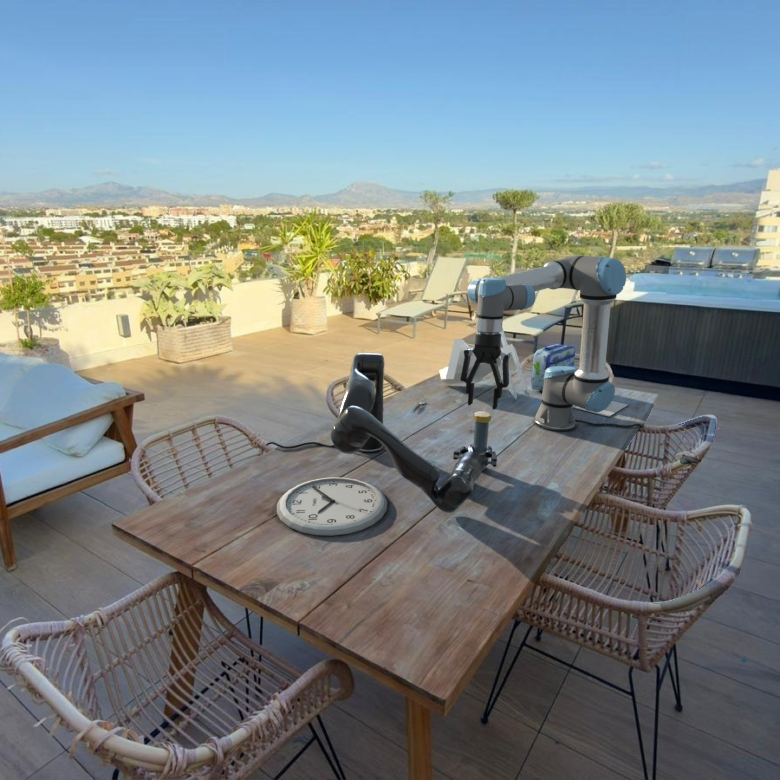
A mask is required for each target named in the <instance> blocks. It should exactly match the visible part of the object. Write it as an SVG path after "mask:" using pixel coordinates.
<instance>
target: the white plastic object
mask: <svg viewBox="0 0 780 780" xmlns="http://www.w3.org/2000/svg"><path fill="white" fill-rule="evenodd" d="M499 333H500V334H501V345H502V347H500V349H501V352H503V353H505V354H508V353H509V354H510V358H509V361H510V360H513V363H514V366H515V369H516V372H517V376H518V380H519V382H520V385H521V389H522V391H523V393H524V395H525V396H526V397H528V396H531V395H530V390H529V388H528V387H529V386H528V384H527V381H526V378H525V375H524V371H523V369H522V368H523V367H522V366H521V362H520V359H519V355H518V352H517V349H516V347H515V346H514V345H513V343H511V344H508V341H507V337H506V334H505V331H504V328H503V326H502V331H501V332H499ZM473 348H474V346H469V345H468V343H466V342H465V340H464V339H463V338H460V339H458V338H454V340H453V344H452V349H451V353H450V357H449V362H448V366H446V367H444V368H442V369H440V370H439V371H438V372H439V376H440V381H442V383H443V384H444V385H445V386H449V385H458V384H466V383H465V382H464V381H461V380H460V379H461V373H462V368H463V363H464V358H465V357H464V350H466V349H473ZM476 359H477V358H476V356H475V355H474V353H472V355H471V358H470V363H469V368H468V374H467V378H468V376H469V374H470V372H471V370H472V368H473V366H474V363H475V361H476ZM496 360H497V365H498V368H499V367H500V366H502V363H503V361H502V360H501V356H499V357H498V358H497V359H496ZM490 373H493V371H492V368H491V366H490V364H487V363H481V364H480V366H479V368H478V370H477V372H476V374H475V376H474V378H473V380H472V382H471V383H474V384H477V383H480V382H482V381H484V378H485V377H486V376H487V375H489V374H490ZM507 388H508V390H509V393H510V394H511V395H512V397H513V398H514V399H515V400H517V392H516V391H517V390H516V388H515V385H514V381H513V378H512V375H511V371H510V370H509V385H508V386H507Z"/></svg>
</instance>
